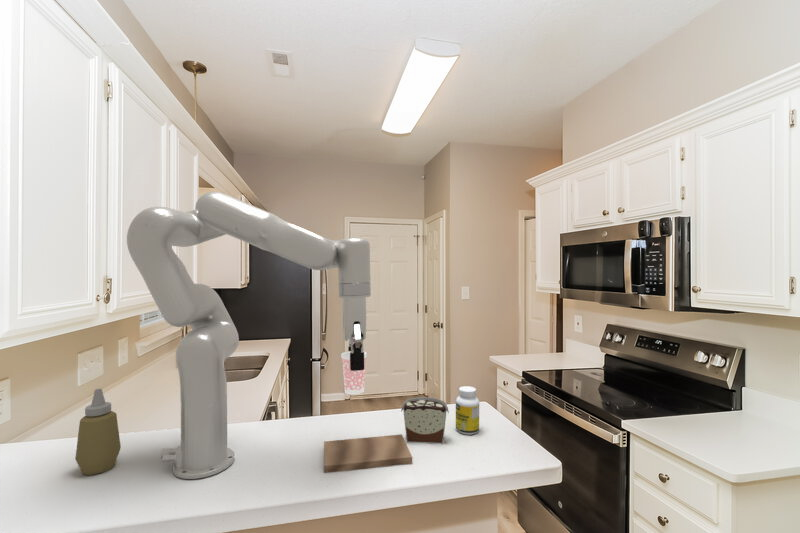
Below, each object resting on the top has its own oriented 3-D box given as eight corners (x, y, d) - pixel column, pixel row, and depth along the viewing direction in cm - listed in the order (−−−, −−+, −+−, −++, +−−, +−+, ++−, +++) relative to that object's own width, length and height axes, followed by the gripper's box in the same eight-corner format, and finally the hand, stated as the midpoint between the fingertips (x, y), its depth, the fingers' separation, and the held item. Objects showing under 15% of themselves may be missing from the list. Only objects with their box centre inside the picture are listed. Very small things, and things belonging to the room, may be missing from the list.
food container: (448, 433, 104) (448, 397, 104) (448, 444, 98) (448, 405, 98) (403, 431, 105) (403, 395, 105) (401, 442, 99) (401, 403, 99)
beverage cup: (340, 388, 93) (339, 331, 93) (365, 386, 94) (364, 329, 94) (342, 396, 87) (341, 334, 87) (369, 394, 88) (368, 333, 88)
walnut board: (324, 472, 84) (324, 466, 84) (324, 447, 96) (324, 441, 96) (412, 463, 88) (412, 457, 88) (401, 440, 100) (401, 434, 100)
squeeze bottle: (84, 463, 89) (83, 386, 89) (125, 457, 92) (125, 382, 91) (68, 481, 81) (67, 397, 81) (114, 474, 84) (113, 392, 84)
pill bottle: (451, 427, 108) (451, 386, 108) (472, 424, 110) (472, 384, 110) (462, 437, 102) (462, 393, 102) (483, 433, 104) (483, 391, 104)
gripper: (337, 288, 98) (339, 358, 98) (339, 293, 81) (341, 377, 81) (366, 287, 100) (368, 356, 100) (374, 292, 83) (376, 375, 83)
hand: (356, 365), depth 91 cm, fingers closed on beverage cup, 6 cm apart
